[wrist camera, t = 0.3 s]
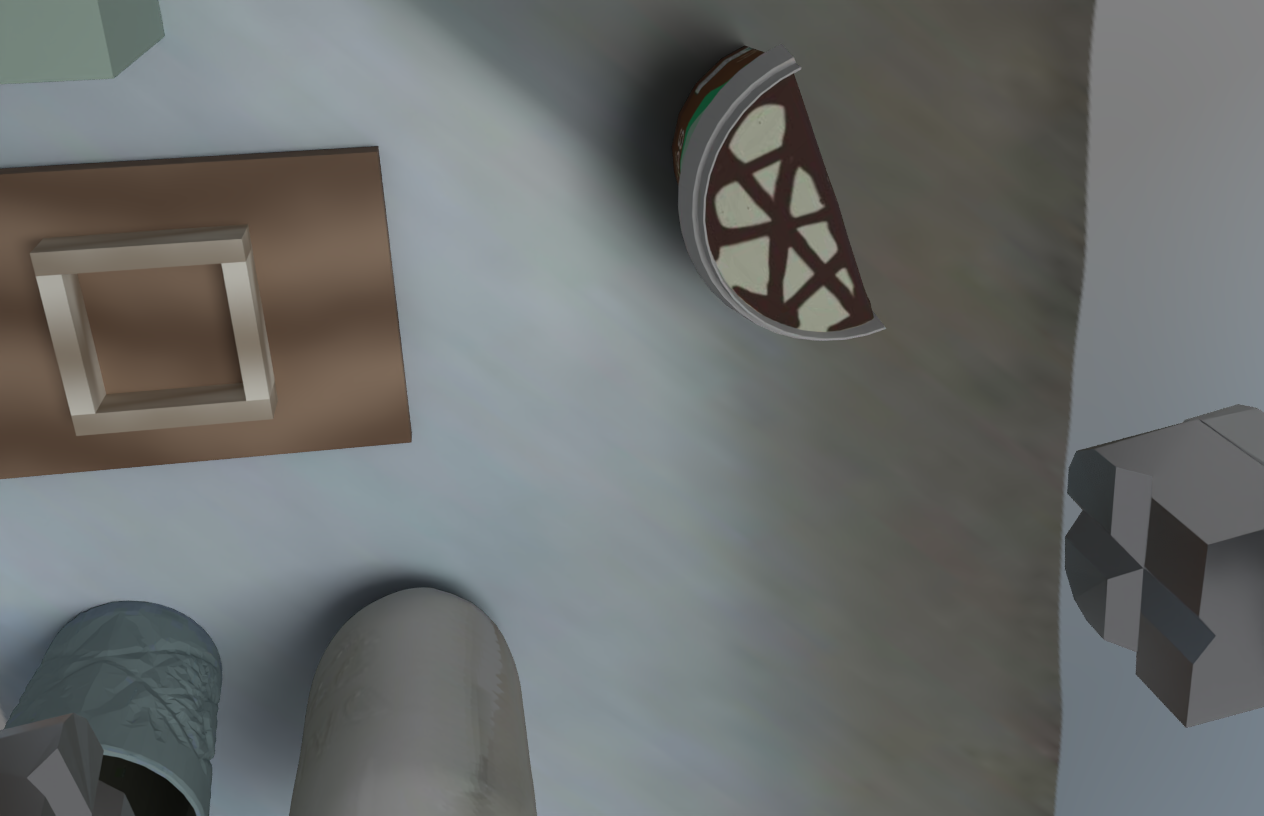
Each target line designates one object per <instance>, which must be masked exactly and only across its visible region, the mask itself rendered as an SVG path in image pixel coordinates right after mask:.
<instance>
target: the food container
mask: <svg viewBox="0 0 1264 816" xmlns="http://www.w3.org/2000/svg"><path fill="white" fill-rule="evenodd" d="M799 70H801V67H800V66H799V65H798V64H796V63H795V59H794V57H793V56H792V55H791V53H790V52H789V51H788V50H787V49H786V48H785V47H784V46H783V45H782V44H780V45H778V46H776V47H774V48H773V49H771V50H769V51H767V52H762V51H759V50H756V49H753V48H750V47H747V46H744V47H742V48H740V49H738V50H736V51H735V52H733V53H731V54H729V55H727V56H726V57H724V58H722V59H721V60H720V61H719V62H718V63H717V64H716V65H715V66H714V67H713V68H711V69H710V70H709V71H708V72H707V73H706V74H705V75H704V76H703V77H702V78H701V79H700V80H699V81H698V82H697V83H696V84H695V86H694V88H693V90H692V91H691V93H690V95H689V97H688V99H687V100H686V102H685V104H684V106H683V108H682V109H681V111H680V113H679V116H678V120H677V125H676V130H675V134H674V139H673V144H672V154H673V165H674V173H675V177H676V180H677V183H678V187H679V192H678V211H679V219H680V226H681V232H682V235H683V239H684V242H685V245H686V248H687V252H688V254H689V256H690V258H691V260H692V262H693V264H694V266H695V268H696V270H697V272H698V274H699V275H700V276H701V278H702V279H703V280H704V282H705V283H706V284H707V286H708V287H709V288H710V290H711V291H712V292H713V293H714V294H715V295H716V296H717V297H719V298H720V299H721V300H722V301H723V302H724V303H725V304H726V305H727V306H728V307H730V308H732V309H733V310H735V311H736V312H738V313H739V314H741V315H742V316H744V317H745V318H747V319H749V320H750V321H752V322H754V323H756V324H758V325H760V326H762V327H764V328H766V329H769V330H771V331H773V332H775V333H778V334H782V335H786V336H790V337H793V338H798V339H808V340H817V341H819V340H824V341H825V340H845V339H851V338H856V337H861V336H866V335H869V334H872V333H875V332H878V331H881V330H884V329H886V328H885V326H884V325H883V323H882V322H881V321H880V320H879V318H878V317H877V316H876V314H875V313H874V312H873V311H872V309H871V304H870V301H869V299H868V297H867V294H866V292H865V289H864V286H863V283H862V280H861V277H860V274H859V271H858V267H857V264H856V261H855V258H854V255H853V252H852V248H851V245H850V242H849V239H848V236H847V232H846V229H845V225H844V222H843V219H842V215H841V212H840V208H839V205H838V202H837V199H836V196H835V194H834V191H833V188H832V185H831V182H830V180H829V177H828V174H827V171H826V168H825V165H824V162H823V159H822V156H821V154H820V151H819V148H818V145H817V142H816V139H815V136H814V133H813V130H812V127H811V123H810V120H809V117H808V114H807V111H806V108H805V105H804V102H803V99H802V96H801V93H800V90H799V87H798V85H797V82H796V79H795V76H794V73H795V72H797V71H799Z"/></svg>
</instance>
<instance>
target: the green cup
mask: <svg viewBox="0 0 1264 816" xmlns="http://www.w3.org/2000/svg"><path fill="white" fill-rule="evenodd" d="M221 685H222V665H221V661H220V656H219V654H218V651H217V648H216V646H215V644H214V643H213V641H212V640H211V638H210V636H209V635H208V634H207V633H206V632H205V630H204V629H203V628H202V627H201V626H199V625H198V624H197V623H196V622H195V621H193V620H192V619H191V618H189V617H187V616H186V615H184V614H182V613H180V612H178V611H176V610H174V609H172V608H168V607H165V606H162V605H159V604H154V603H149V602H139V601H120V602H111V603H107V604H104V605H101V606H98V607H95V608H91V609H90V610H88V611H87V612H81V613H80V614H79V615H78V616H76V618H75V619H74V620H72V621H71V622H68V623H67V625H66V626H65V627H64V628H63V629H62V630H61V631H60V632H59V633H58V634H57V636H56V637H55V639H54V640H53V642H52V643H51V645H50V647H49V649H48V650H47V652H46V654H45V656H44V658H43V660H42V663H41V666H40V667H39V668H38V669H37V671H36V673H35V675H34V676H33V678H32V680H31V681H30V682H29V684H28V685H27V687H26V690H25V692H24V693H23V695H22V696H21V698H20V703H19V704H18V706H17V707H16V708H15V709H14V710H13V712H12V713H11V715H10V719H9V720H8V721H7V723H6V725H5V728H4V729H8V728H12V727H16V726H20V725H25V724H29V723H33V722H37V721H41V720H45V719H50V718H54V717H58V716H62V715H66V714H70V713H75V714H77V715H79V716H82V717H84V718H86V719H87V720H88V722H89V724H90V726H91V728H92V729H93V731H94V733H95V735H96V737H97V739H98V741H99V742H100V744H101V746H102V748H103V750H104V753H103V758H102V764H101V769H100V774H99V779H98V780H99V781H101V782H103V783H105V784H107V785H109V786H111V787H113V788H115V789H117V790H119V791H121V792H123V793H125V795H126V797H127V799H128V802H129V804H130V806H131V808H132V810H133V812H134V815H135V816H209V808H210V798H211V782H212V765H211V763H210V762H209V760H211V759H212V758H213V757H214V754H215V742H216V728H217V712H218V703H219V701H220V693H221ZM4 729H3V730H4Z"/></svg>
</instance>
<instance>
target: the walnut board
mask: <svg viewBox="0 0 1264 816" xmlns="http://www.w3.org/2000/svg"><path fill="white" fill-rule="evenodd" d="M411 440H412V431H411V423H410V414H409V406H408V397H407V388H406V380H405V371H404V363H403V354H402V346H401V337H400V329H399V320H398V311H397V303H396V294H395V286H394V277H393V269H392V260H391V251H390V243H389V234H388V226H387V217H386V209H385V200H384V192H383V183H382V174H381V166H380V157H379V149H378V146H374V147H358V148H341V149H324V150H307V151H290V152H273V153H256V154H239V155H222V156H205V157H188V158H171V159H155V160H138V161H121V162H104V163H87V164H70V165H53V166H36V167H19V168H2V169H0V479H7V478H18V477H29V476H40V475H52V474H63V473H74V472H85V471H96V470H107V469H119V468H130V467H141V466H152V465H163V464H175V463H186V462H197V461H208V460H219V459H231V458H242V457H253V456H264V455H275V454H287V453H298V452H309V451H320V450H331V449H342V448H354V447H365V446H376V445H387V444H398V443H410V442H411Z"/></svg>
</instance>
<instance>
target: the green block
mask: <svg viewBox="0 0 1264 816" xmlns="http://www.w3.org/2000/svg"><path fill="white" fill-rule="evenodd" d="M164 36H165V34H164V29H163V23H162V18H161V13H160V7H159V2H158V0H0V84H16V83H36V82H56V81H75V80H95V79H114V78H115V77H116V76H117V75H119V74H120V73H121V72H122V71H123V70H125V69H126V68H127V67H128V66H129V65H131V64H132V63H133V62H134V61H135V60H137V59H138V58H139V57H140V56H141V55H143V54H144V53H145V52H146V51H148V50H149V49H150V48H151V47H152V46H154V45H155V44H156V43H157V42H158V41H160V40H161V39H162V38H163V37H164Z"/></svg>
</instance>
